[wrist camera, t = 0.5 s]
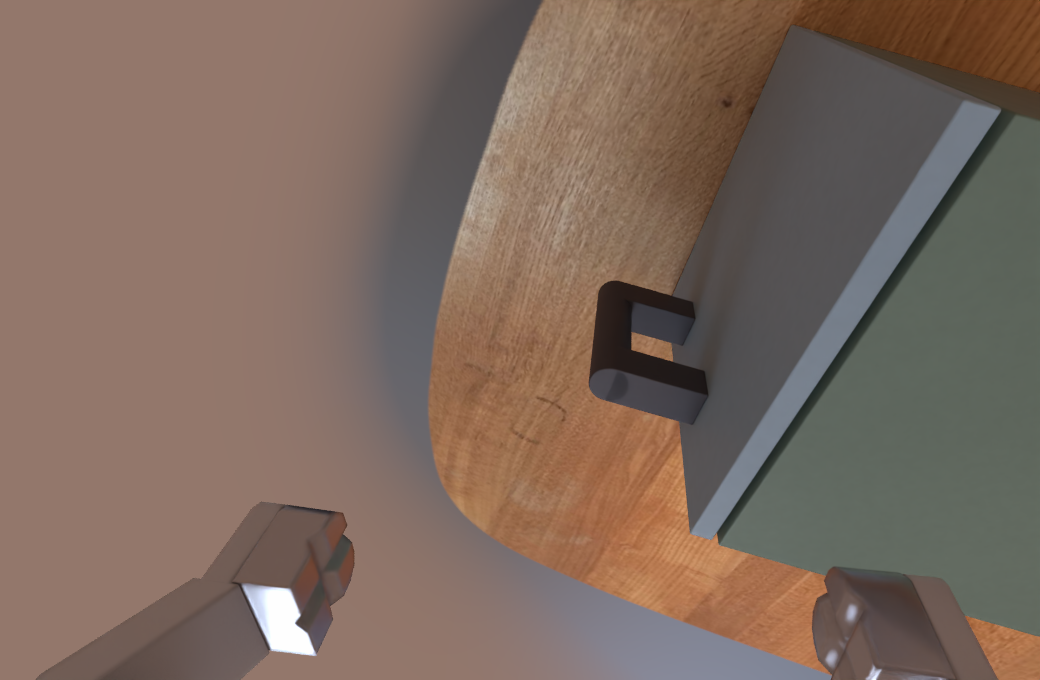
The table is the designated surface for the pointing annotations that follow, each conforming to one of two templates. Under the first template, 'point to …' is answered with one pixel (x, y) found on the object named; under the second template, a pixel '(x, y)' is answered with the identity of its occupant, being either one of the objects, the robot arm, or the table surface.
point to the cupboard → (930, 397)
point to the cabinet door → (785, 257)
